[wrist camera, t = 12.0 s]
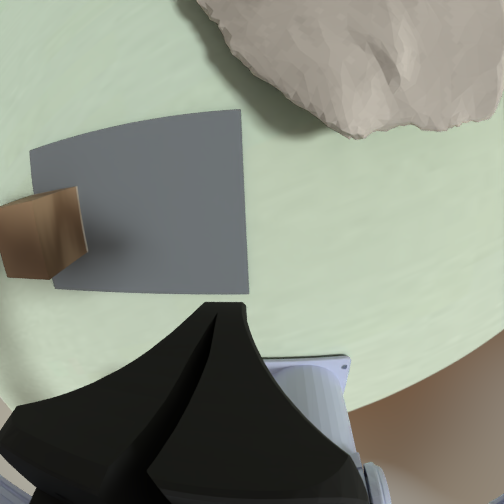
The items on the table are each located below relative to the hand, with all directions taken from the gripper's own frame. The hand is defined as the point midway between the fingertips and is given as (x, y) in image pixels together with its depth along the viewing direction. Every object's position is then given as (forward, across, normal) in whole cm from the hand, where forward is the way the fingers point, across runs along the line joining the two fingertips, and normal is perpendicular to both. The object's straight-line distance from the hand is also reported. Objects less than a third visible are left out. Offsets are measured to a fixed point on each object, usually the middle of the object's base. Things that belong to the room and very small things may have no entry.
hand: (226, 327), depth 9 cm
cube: (+5, +14, -2) cm, 15 cm away
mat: (+10, +8, -2) cm, 13 cm away
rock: (+10, -12, -19) cm, 25 cm away
